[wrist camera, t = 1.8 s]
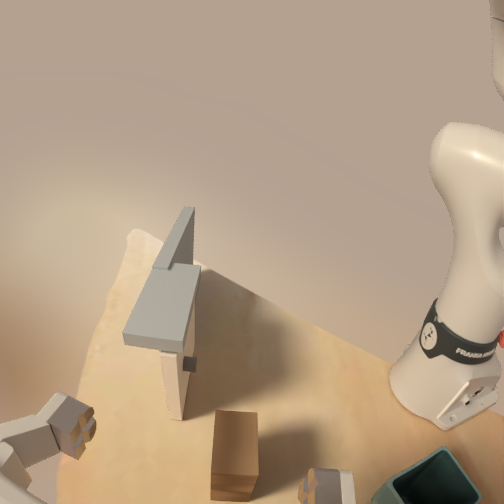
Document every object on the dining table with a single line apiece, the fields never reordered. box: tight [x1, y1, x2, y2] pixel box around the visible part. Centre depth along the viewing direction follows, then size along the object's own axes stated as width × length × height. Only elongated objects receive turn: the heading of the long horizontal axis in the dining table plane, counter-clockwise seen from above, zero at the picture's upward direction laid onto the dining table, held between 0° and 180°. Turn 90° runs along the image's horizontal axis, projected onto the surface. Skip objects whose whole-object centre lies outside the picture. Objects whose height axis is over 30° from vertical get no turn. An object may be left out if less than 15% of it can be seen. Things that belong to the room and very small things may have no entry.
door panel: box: [160, 302, 197, 420], centre depth 38 cm, size 3×14×12 cm, turn 0°
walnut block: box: [211, 410, 259, 502], centre depth 27 cm, size 4×7×9 cm, turn 0°
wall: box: [123, 207, 201, 353], centre depth 46 cm, size 6×34×15 cm, turn 0°
